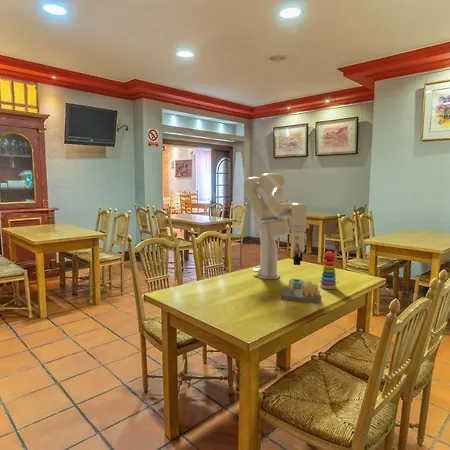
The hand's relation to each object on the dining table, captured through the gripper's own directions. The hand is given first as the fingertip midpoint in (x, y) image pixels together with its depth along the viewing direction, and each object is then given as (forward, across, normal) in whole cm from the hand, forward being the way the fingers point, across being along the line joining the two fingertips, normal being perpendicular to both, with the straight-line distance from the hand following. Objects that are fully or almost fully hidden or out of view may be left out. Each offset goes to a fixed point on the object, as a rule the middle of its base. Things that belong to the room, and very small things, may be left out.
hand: (298, 262), depth 174 cm
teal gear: (+14, +1, +1) cm, 14 cm away
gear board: (+14, -10, -2) cm, 18 cm away
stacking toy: (+14, +9, -14) cm, 22 cm away
